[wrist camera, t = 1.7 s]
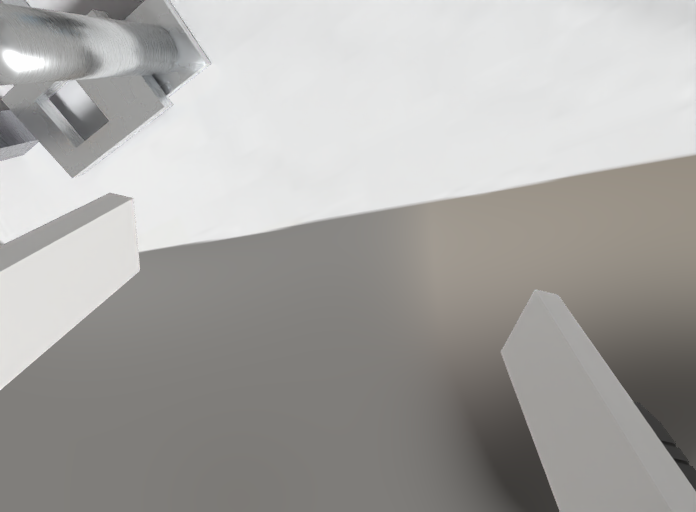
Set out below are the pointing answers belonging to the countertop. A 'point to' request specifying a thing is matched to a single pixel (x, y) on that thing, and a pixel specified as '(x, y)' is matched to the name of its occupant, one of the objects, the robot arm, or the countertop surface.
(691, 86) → the countertop surface
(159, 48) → the grey piece
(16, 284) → the robot arm
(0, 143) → the orange-tipped square rod
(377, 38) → the countertop surface
